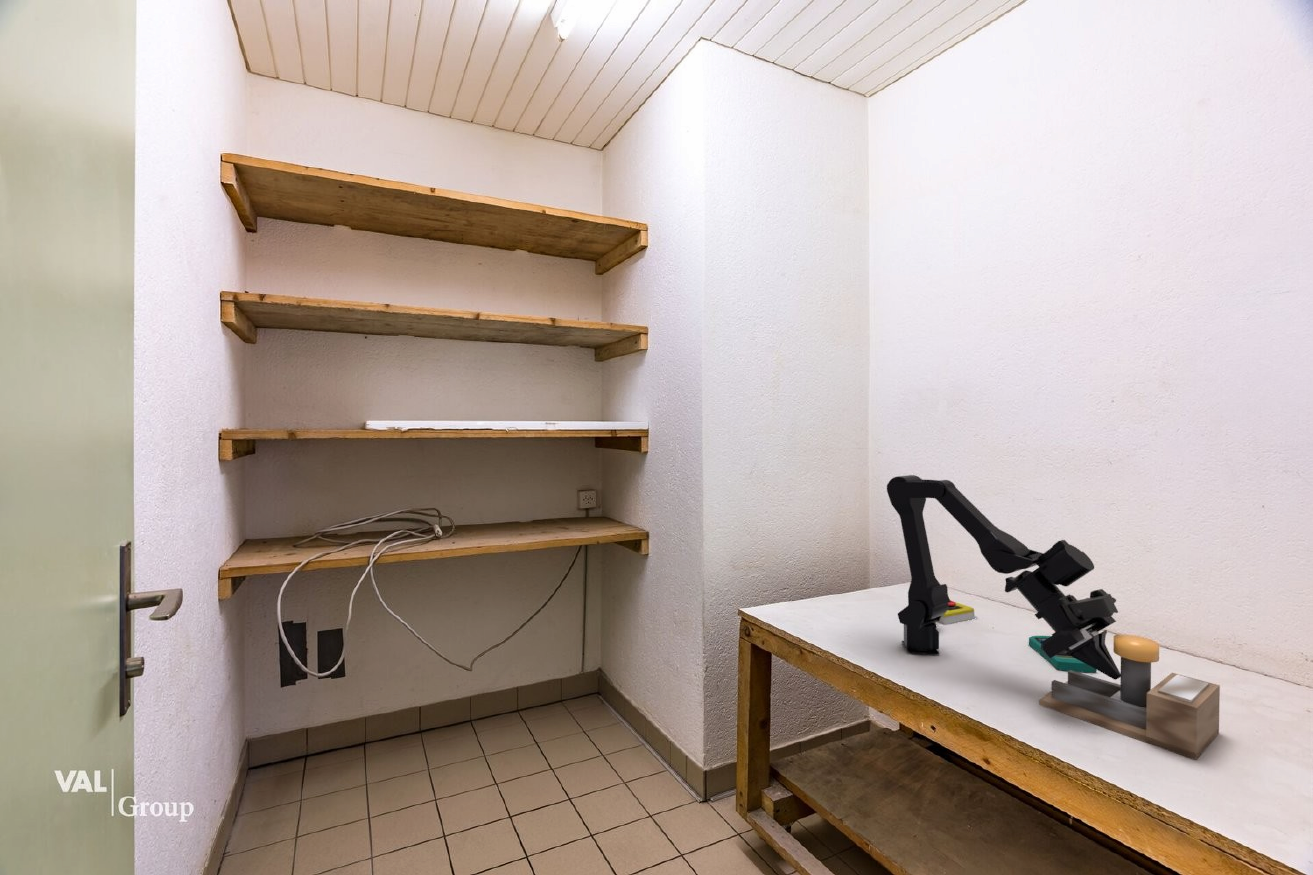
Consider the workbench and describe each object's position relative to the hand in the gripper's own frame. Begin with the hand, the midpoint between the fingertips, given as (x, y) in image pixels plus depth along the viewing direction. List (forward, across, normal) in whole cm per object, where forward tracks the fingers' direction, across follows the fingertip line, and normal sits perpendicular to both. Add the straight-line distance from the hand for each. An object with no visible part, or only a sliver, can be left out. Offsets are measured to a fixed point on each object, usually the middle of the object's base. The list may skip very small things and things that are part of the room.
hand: (1118, 678), depth 101 cm
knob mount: (+5, 0, +4) cm, 7 cm away
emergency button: (-27, +26, +37) cm, 53 cm away
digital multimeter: (-6, +20, +17) cm, 27 cm away
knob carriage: (+6, 0, +2) cm, 6 cm away
